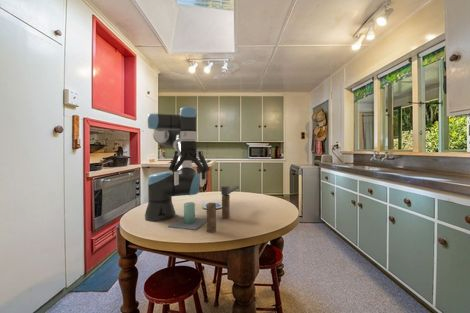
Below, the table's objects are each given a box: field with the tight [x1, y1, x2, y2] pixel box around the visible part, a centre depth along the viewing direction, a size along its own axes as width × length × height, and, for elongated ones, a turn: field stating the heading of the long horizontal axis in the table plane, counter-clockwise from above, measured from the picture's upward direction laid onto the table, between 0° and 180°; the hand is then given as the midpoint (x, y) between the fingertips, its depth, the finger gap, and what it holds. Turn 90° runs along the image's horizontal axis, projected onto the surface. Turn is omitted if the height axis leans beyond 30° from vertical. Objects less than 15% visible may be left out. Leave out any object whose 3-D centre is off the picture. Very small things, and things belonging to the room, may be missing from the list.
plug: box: [183, 202, 196, 224], centre depth 105 cm, size 5×5×9 cm
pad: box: [167, 216, 207, 231], centre depth 105 cm, size 14×14×1 cm
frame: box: [206, 194, 231, 234], centre depth 104 cm, size 3×21×12 cm, turn 162°
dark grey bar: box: [220, 185, 240, 196], centre depth 120 cm, size 3×22×4 cm, turn 162°
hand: (189, 185), depth 105 cm, fingers open, 13 cm apart
